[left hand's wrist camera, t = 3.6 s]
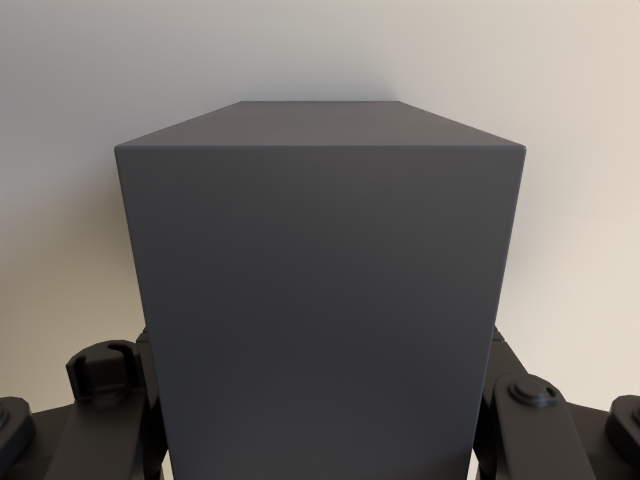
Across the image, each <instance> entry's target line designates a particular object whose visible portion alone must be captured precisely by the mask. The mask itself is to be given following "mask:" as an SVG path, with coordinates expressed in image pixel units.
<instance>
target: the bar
mask: <svg viewBox="0 0 640 480" xmlns="http://www.w3.org/2000/svg"><path fill="white" fill-rule="evenodd" d="M114 152H115V157H116V163H117V168H118V174H119V179H120V185H121V190H122V196H123V201H124V207H125V212H126V218H127V223H128V229H129V235H130V240H131V246H132V251H133V257H134V262H135V268H136V273H137V279H138V284H139V290H140V295H141V301H142V306H143V312H144V318H145V323H146V329H147V334H148V340H149V345H150V351H151V356H152V362H153V367H154V373H155V378H156V384H157V390H158V395H159V401H160V406H161V412H162V417H163V423H164V428H165V434H166V439H167V445H168V450H169V456H170V461H171V467H172V473H173V478H174V480H467V475H468V469H469V464H470V458H471V453H472V447H473V442H474V436H475V431H476V425H477V420H478V414H479V409H480V403H481V398H482V392H483V387H484V381H485V376H486V370H487V365H488V359H489V354H490V348H491V342H492V337H493V331H494V326H495V320H496V315H497V309H498V304H499V298H500V293H501V287H502V282H503V276H504V271H505V265H506V260H507V254H508V249H509V243H510V238H511V232H512V227H513V221H514V216H515V210H516V205H517V199H518V194H519V188H520V183H521V177H522V171H523V166H524V160H525V155H526V146H523V145H521V144H518V143H515V142H512V141H509V140H507V139H504V138H501V137H498V136H495V135H492V134H490V133H487V132H484V131H481V130H478V129H475V128H473V127H470V126H467V125H464V124H461V123H458V122H456V121H453V120H450V119H447V118H444V117H441V116H439V115H436V114H433V113H430V112H427V111H424V110H422V109H419V108H416V107H413V106H410V105H407V104H405V103H402V102H399V101H241V102H239V103H236V104H233V105H230V106H227V107H224V108H222V109H219V110H216V111H213V112H210V113H208V114H205V115H202V116H199V117H196V118H193V119H191V120H188V121H185V122H182V123H179V124H176V125H174V126H171V127H168V128H165V129H162V130H159V131H157V132H154V133H151V134H148V135H145V136H142V137H140V138H137V139H134V140H131V141H128V142H125V143H123V144H120V145H117V146H115V148H114Z"/></svg>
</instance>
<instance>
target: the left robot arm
mask: <svg viewBox="0 0 640 480" xmlns="http://www.w3.org/2000/svg"><path fill="white" fill-rule="evenodd" d="M66 369H67V373H68V376H69V380H70V384H71V387H72V391H73V394H74V398H75V401H74V404H70V405H67V406H64V407H59V408H55V409H50V410H46V411H41V412H37V413H31V410H30V407H29V404H28V403H27V402H26V401H25V400H24V399H22V398H17V397H4V398H0V480H164V475H163V469H162V462H163V460H164V457H165V455H166V452H167V450H168V445H167V439H166V434H165V428H164V423H163V417H162V412H161V406H160V401H159V395H158V390H157V384H156V378H155V373H154V367H153V362H152V356H151V351H150V345H149V340H148V334H147V329H146V327H145V328H144V330H143V333H141V334H140V336H139V337H138V339H137V340H136V343H133V342H130V341H126V340H110V341H105V342H101V343H97V344H94V345H92V346H90V347H87V348H85V349H83V350H81V351H80V352H79V353H77V354H76V355H74V356H73V357H72V358H71V359H70V360H69V362H68V363H67V364H66ZM473 450H474V452H475V455H476V457H477V459H478V462H479V464H478V469H477V474H476V480H640V396H635V395H626V396H619V397H618V398H616V399H615V400H614V401H613V402H612V405H611V408H610V411H609V412H607V411H602V410H598V409H593V408H589V407H584V406H580V405H576V404H572V403H569V402H566V400H565V399H564V397H563V396H562V394H561V393H560V391H559V390H558V389H557V388H556V387H554V386H553V385H552V384H551V383H549V382H548V381H546V380H544V379H542V378H540V377H537V376H535V375H531V374H528V372H527V371H526V370H525V368H524V367H523V365H522V364H521V362H520V361H519V359H518V358H517V357H516V355H515V354H514V352H513V351H512V349H511V348H510V346H509V345H508V344H507V342H505V341H504V338H503V336H502V335H501V333H500V332H498V329H497V328H496V326H494V331H493V337H492V342H491V348H490V354H489V359H488V365H487V370H486V376H485V381H484V387H483V392H482V398H481V403H480V409H479V414H478V420H477V425H476V431H475V436H474V442H473Z"/></svg>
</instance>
